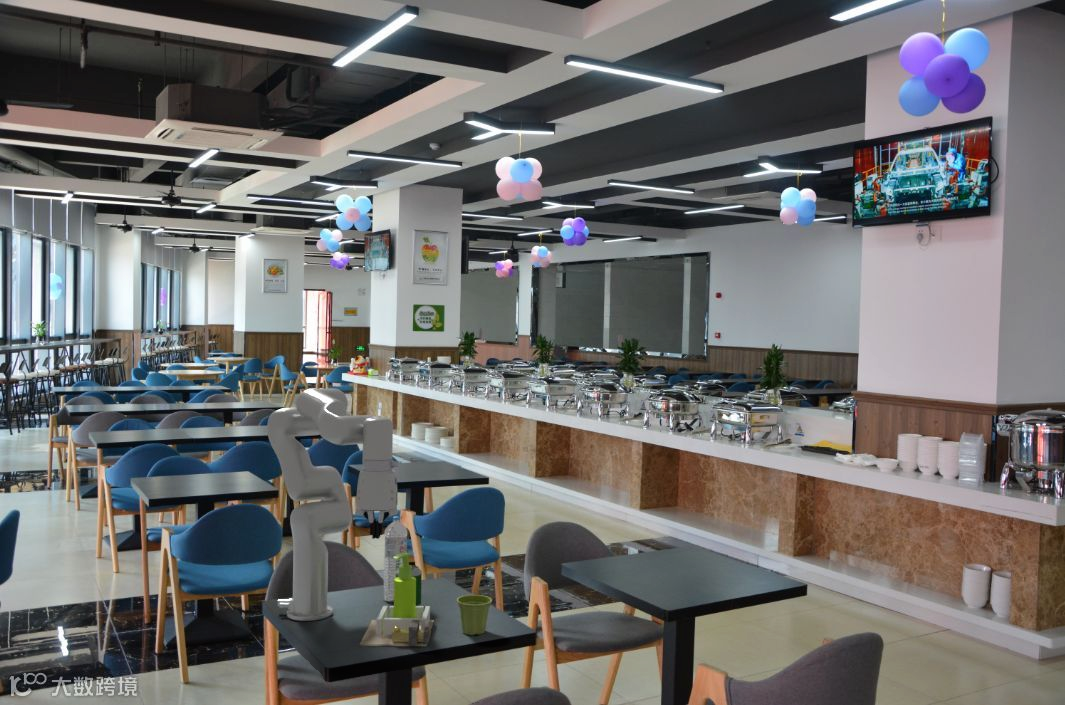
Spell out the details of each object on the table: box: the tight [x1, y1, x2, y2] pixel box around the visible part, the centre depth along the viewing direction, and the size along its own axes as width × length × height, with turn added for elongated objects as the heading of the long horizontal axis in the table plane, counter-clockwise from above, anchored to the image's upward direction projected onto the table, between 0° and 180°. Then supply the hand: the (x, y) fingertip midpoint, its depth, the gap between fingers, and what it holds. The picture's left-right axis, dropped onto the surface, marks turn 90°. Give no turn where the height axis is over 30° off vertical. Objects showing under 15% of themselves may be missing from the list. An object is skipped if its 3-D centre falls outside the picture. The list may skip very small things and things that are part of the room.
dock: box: [376, 605, 431, 635], centre depth 228 cm, size 13×12×4 cm
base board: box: [359, 619, 435, 647], centre depth 224 cm, size 17×21×5 cm
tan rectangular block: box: [392, 626, 424, 642], centre depth 217 cm, size 8×2×3 cm, turn 92°
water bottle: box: [383, 515, 408, 603], centre depth 255 cm, size 7×7×25 cm
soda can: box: [396, 564, 423, 606], centre depth 246 cm, size 8×8×12 cm
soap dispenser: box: [393, 552, 416, 618], centre depth 227 cm, size 6×7×20 cm
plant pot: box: [456, 594, 493, 636], centre depth 227 cm, size 9×9×9 cm
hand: (376, 537), depth 217 cm, fingers closed
